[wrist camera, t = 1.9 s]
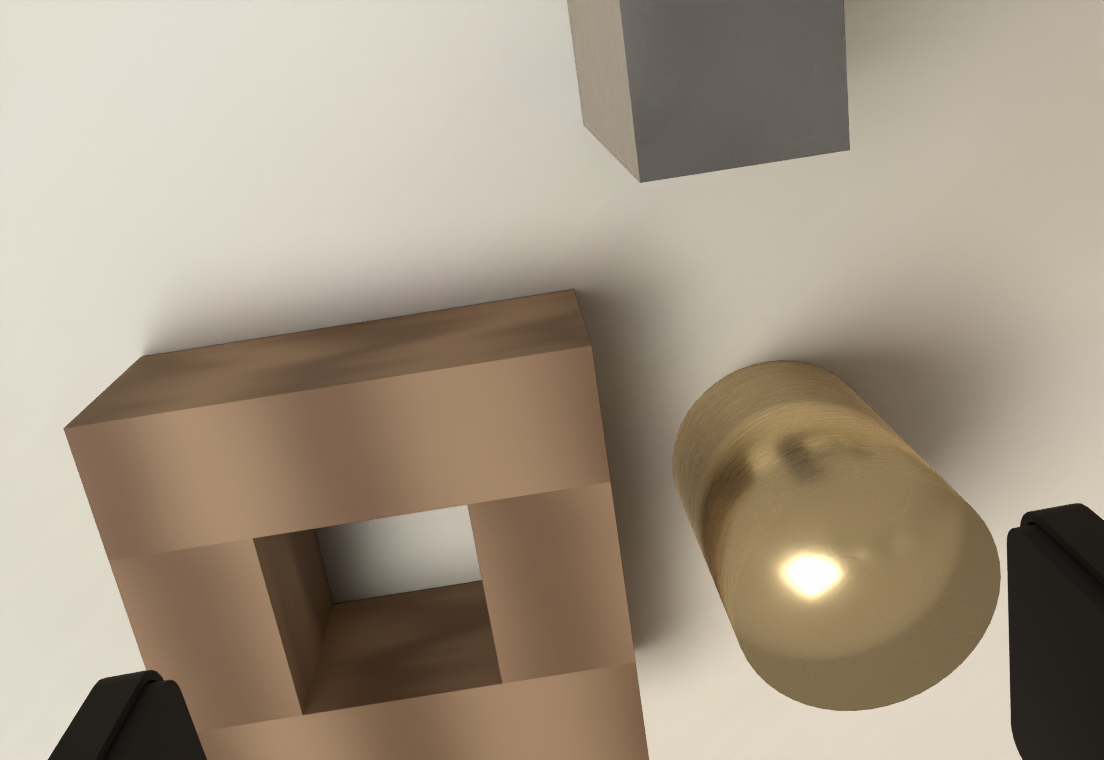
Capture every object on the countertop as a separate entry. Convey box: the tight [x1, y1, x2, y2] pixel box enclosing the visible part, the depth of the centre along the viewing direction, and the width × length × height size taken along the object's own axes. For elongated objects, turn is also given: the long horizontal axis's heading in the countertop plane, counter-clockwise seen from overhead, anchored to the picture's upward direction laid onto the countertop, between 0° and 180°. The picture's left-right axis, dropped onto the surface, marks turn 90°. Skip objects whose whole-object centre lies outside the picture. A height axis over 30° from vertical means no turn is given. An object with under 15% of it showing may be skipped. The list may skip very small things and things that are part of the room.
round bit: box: [673, 361, 1001, 711], centre depth 30 cm, size 7×7×9 cm
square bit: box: [567, 0, 850, 183], centre depth 23 cm, size 4×4×12 cm
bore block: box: [64, 289, 649, 760], centre depth 31 cm, size 14×14×6 cm
